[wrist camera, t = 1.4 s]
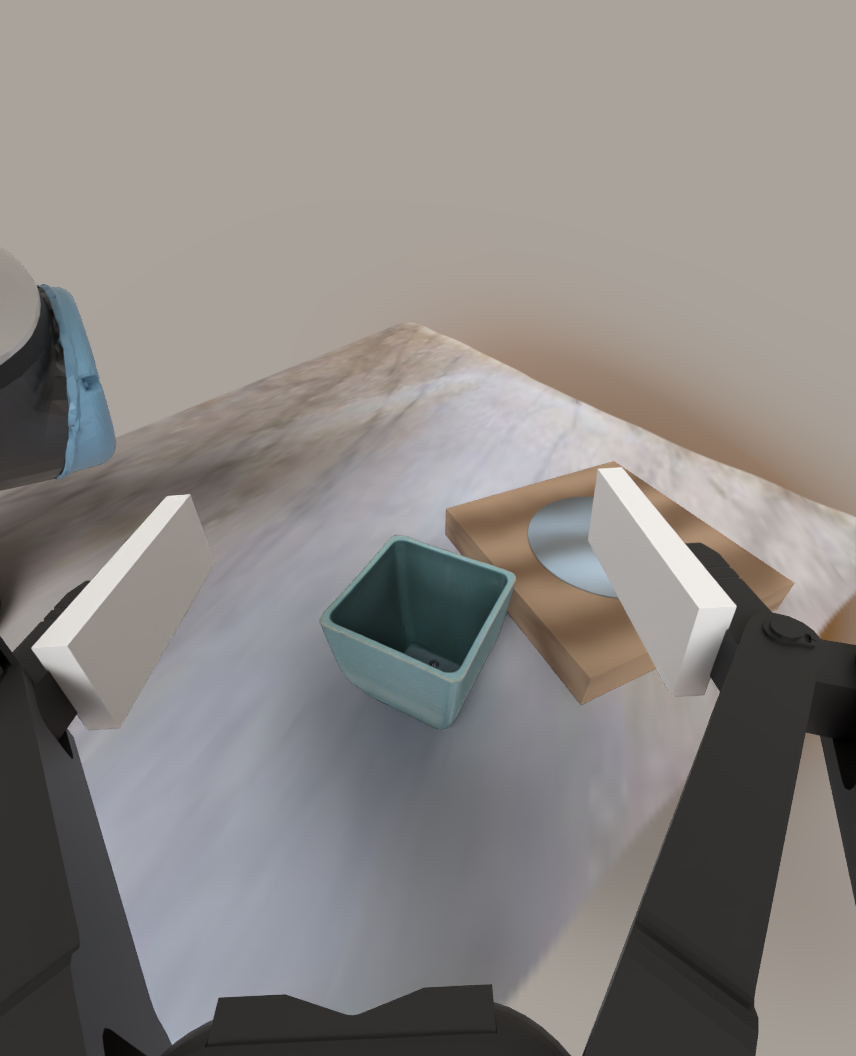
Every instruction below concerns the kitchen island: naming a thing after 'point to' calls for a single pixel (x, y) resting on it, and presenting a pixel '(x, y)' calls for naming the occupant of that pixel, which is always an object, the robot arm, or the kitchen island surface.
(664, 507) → the walnut plinth
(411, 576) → the flower pot
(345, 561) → the kitchen island surface
